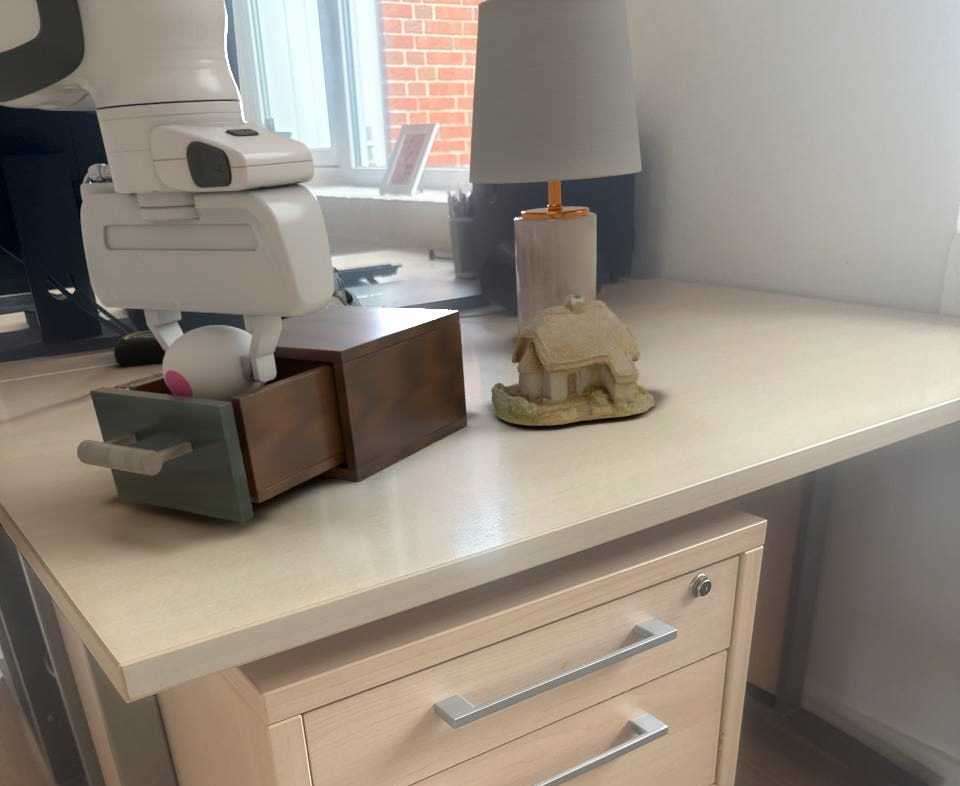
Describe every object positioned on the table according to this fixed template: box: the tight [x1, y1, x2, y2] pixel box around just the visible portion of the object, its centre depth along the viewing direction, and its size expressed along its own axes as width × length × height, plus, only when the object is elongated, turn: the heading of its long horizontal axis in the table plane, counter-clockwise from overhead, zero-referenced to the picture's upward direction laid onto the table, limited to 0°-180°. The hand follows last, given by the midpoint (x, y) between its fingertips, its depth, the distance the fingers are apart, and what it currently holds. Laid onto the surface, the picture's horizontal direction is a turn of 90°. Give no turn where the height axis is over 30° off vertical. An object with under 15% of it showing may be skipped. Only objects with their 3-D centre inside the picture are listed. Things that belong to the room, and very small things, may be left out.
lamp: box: [468, 0, 643, 335], centre depth 101 cm, size 19×19×34 cm
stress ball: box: [161, 324, 266, 413], centre depth 65 cm, size 8×8×7 cm
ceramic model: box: [490, 294, 656, 427], centre depth 80 cm, size 14×11×10 cm
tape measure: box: [113, 330, 165, 368], centre depth 111 cm, size 7×7×4 cm
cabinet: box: [243, 305, 468, 482], centre depth 76 cm, size 16×14×10 cm
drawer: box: [76, 358, 347, 523], centre depth 66 cm, size 19×13×8 cm, turn 149°
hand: (223, 376), depth 65 cm, fingers closed on stress ball, 6 cm apart
